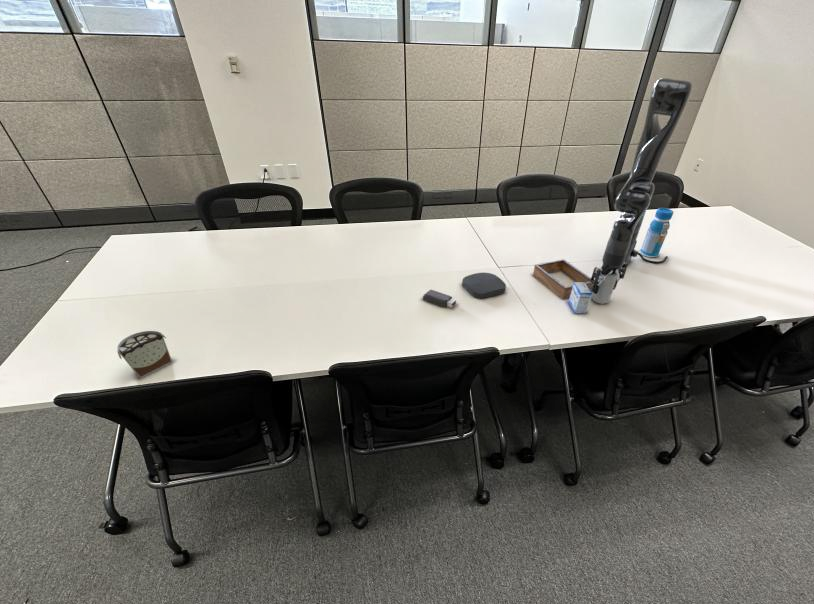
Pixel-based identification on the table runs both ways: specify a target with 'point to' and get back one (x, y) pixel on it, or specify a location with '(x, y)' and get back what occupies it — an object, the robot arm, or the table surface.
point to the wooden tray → (556, 286)
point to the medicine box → (580, 297)
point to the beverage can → (605, 289)
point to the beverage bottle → (656, 233)
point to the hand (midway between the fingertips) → (603, 290)
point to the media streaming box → (483, 285)
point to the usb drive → (439, 299)
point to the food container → (144, 352)
